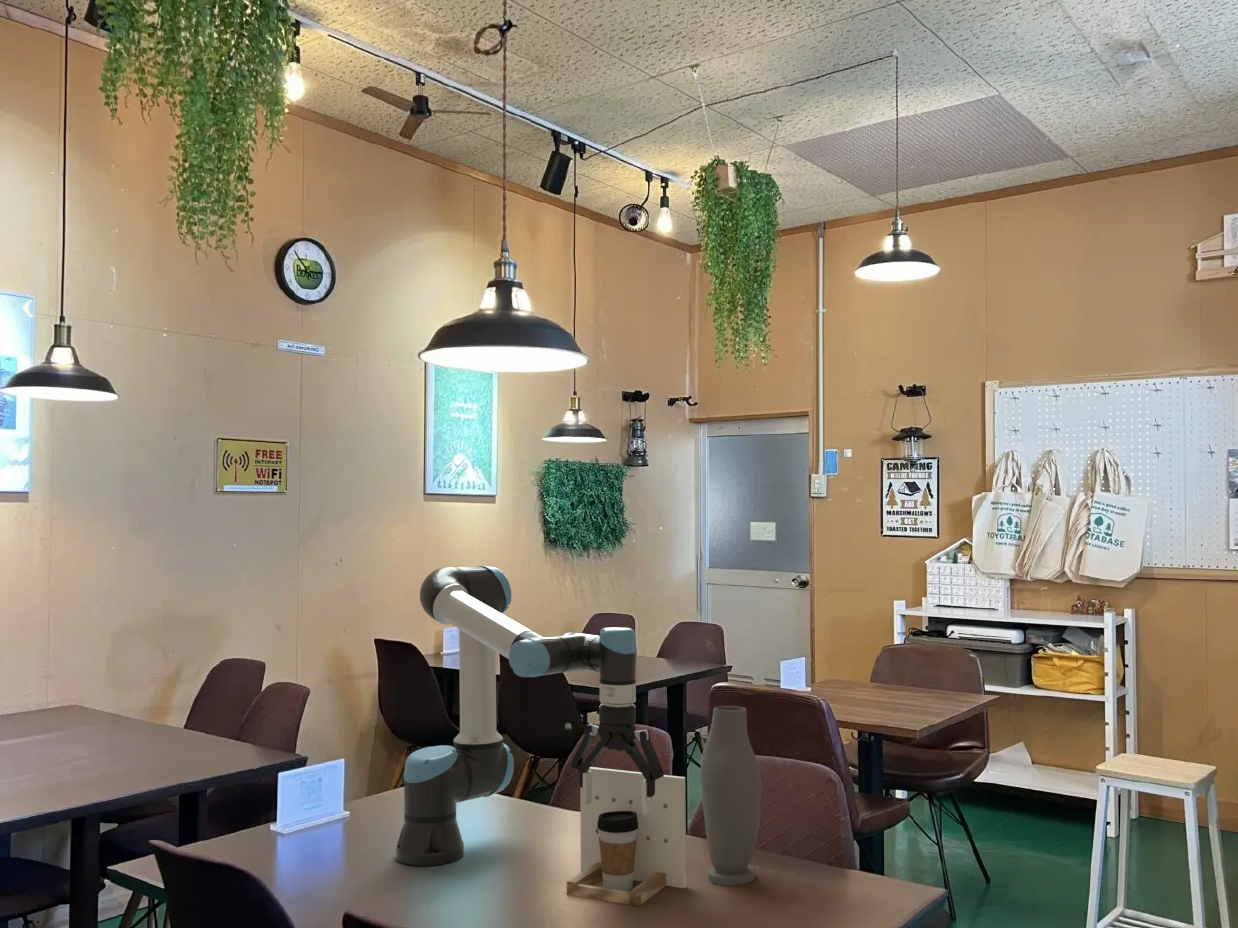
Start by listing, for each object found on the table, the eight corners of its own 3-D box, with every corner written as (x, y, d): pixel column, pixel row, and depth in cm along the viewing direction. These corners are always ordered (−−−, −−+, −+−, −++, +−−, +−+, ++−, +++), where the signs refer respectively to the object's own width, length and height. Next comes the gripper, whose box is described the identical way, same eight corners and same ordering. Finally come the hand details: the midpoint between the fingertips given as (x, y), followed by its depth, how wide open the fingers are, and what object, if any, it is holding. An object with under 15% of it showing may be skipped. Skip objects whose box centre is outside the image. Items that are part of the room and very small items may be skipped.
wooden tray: (566, 893, 206) (566, 881, 206) (597, 874, 217) (597, 862, 217) (638, 906, 198) (638, 892, 199) (666, 885, 210) (666, 872, 210)
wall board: (580, 871, 219) (580, 767, 221) (583, 869, 220) (583, 766, 222) (684, 888, 208) (682, 778, 210) (686, 886, 210) (685, 777, 211)
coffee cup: (634, 897, 203) (634, 820, 204) (593, 894, 205) (593, 818, 206) (641, 883, 212) (641, 809, 213) (602, 880, 213) (601, 807, 214)
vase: (744, 891, 206) (743, 714, 210) (688, 880, 213) (687, 709, 216) (771, 874, 217) (769, 706, 221) (716, 864, 224) (715, 702, 228)
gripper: (556, 700, 213) (554, 804, 212) (665, 711, 202) (664, 821, 201) (573, 695, 220) (572, 795, 219) (680, 706, 209) (679, 811, 208)
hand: (616, 808), depth 210 cm, fingers open, 13 cm apart
